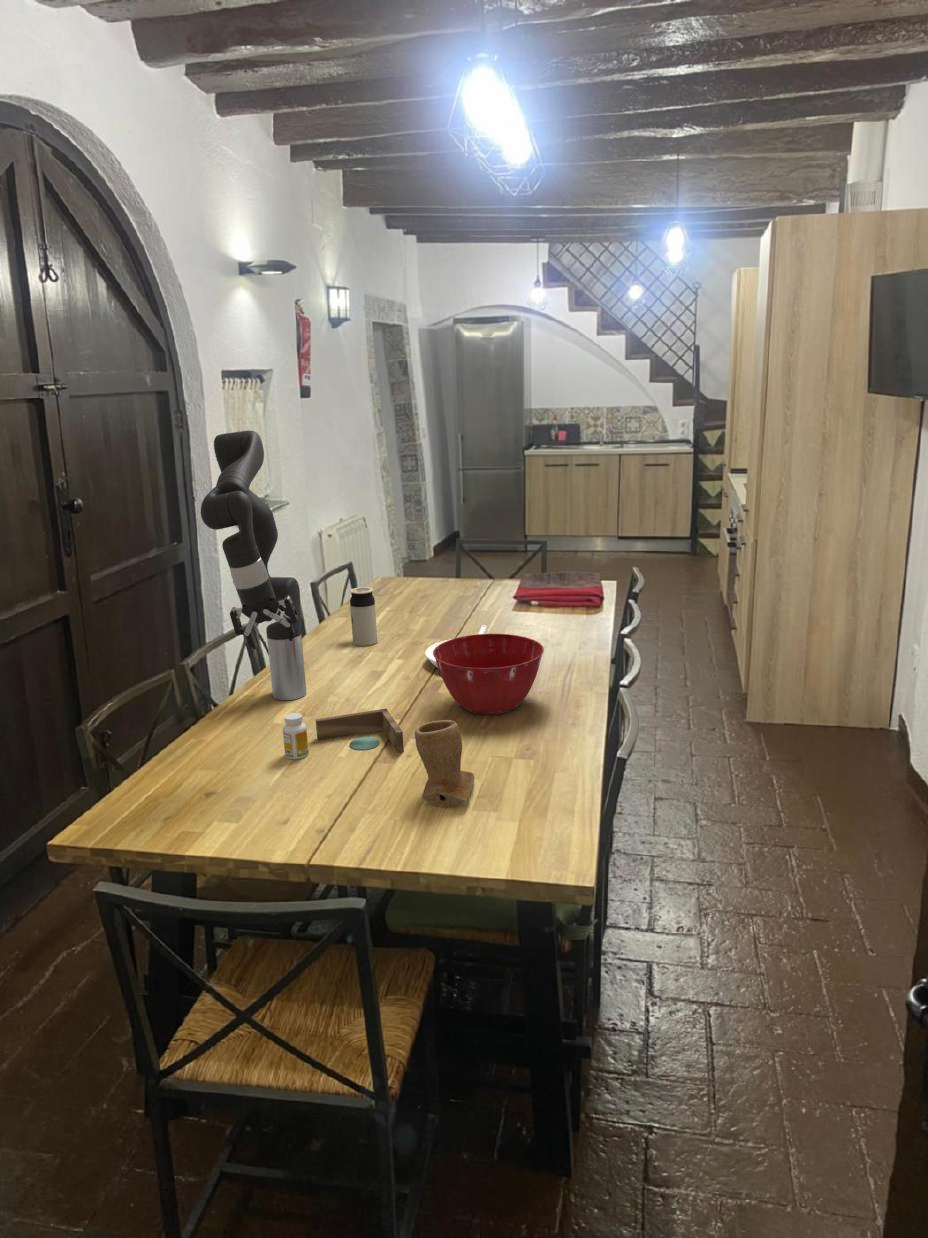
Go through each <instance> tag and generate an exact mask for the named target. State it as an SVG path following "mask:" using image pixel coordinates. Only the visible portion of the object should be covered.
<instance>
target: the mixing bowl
mask: <svg viewBox="0 0 928 1238" xmlns="http://www.w3.org/2000/svg"><path fill="white" fill-rule="evenodd" d="M450 639H451V640H450ZM450 639H447V640H448V641H446V642H443V643H441V644H440V645H438V646H437V647H436V648H435V649H434V651H433V656H434V657H435V659H436V662H437V666H438V668H437V669H438V672H439V674H440V676H441V679H442V681H443V683H444V685H445V687H446V688H447V690H448V692H449V694H450V696H451V697H452V699H453V700H454V701H455V702H456V703H457V704H458V705H459V706H460V707H462V708H463V709H465V710H467V711H469V712H470V713H474V714H478V715H500V714H503V713H504V714H505V713H508V712H510V711H512V710H513V709H515V708H516V707H518V706H519V705H520V704H521V703H522V702H524V700H525V699H526V698H527V696H528V694H529V692H530V691H531V689H532V687H533V684H534V683H535V680H536V677H537V675H538V671H539V667H540V664H541V661H542V657H543V655H544V652H545V649H544V646H543V645H542V644H541V643H540V642H539V641H537V640H535V639H532V638H529V637H526V636H521V635H517V634H508V633H484V634H477V633H476V634H470V635H463V636H459V637H456V638H450Z"/></svg>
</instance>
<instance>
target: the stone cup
mask: <svg viewBox="0 0 928 1238" xmlns="http://www.w3.org/2000/svg"><path fill="white" fill-rule="evenodd" d="M414 740H415V746H416V750H417V752H418V754H419V757H420V759H421V761H422V763H423V766H424V768H425V770H426V774H427V778H428V779H427V781H426V783H425V785H424V789H423V792H422V795H421V799H422V800H423V801H426V802H427V803H429V804H431V805H434V806H437V807H440V808H456V807H460V806H464V805H465V804H466V803H467V802H468V799H469V797H470V794H471V792H472V790H473V787H474V784H475V783H474V782H475V774H474V773H473V772H471V771H464V770H461V767H462V765H461V764H462V763H461V762H462V752H463V742H462V741H463V740H462V734H461V730H460V727H459V725H458V723H457V722H456V721H454V720H449V719H443V720H434V721H430V722H426V723H422V724H420V725H419V726H417V728H415V730H414Z"/></svg>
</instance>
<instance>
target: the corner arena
mask: <svg viewBox="0 0 928 1238" xmlns="http://www.w3.org/2000/svg"><path fill="white" fill-rule="evenodd" d="M315 728H316V739H317V741H318V742H319V741H325V740H326V741H327V740H331V739H339V738H344V737H345V738H346V737H351V736H356V735H355V734H358V735H362V734H369V733H370V734H371V733H377V732H381V731H382V730H383V733H384V734H385V736H386V735H387V736H386V738H387V739H388V741H389V742H390V744H391V745H392V746H393V748H394V749H396V750H395V751H396V752H397V754H398V753H404V752H405V748H404V734H403V733H404V731H403V730H402V729H401V727H400V726H399V725H398V723H397V721H396V720H395V719H394V718H393V716H392V714H391V713H390V711H389V710H388V709H387V708H382V709H373V710H367V711H362V712H354V713H347V714H341V715H340V714H339V715H336V716H334V715H333V716H328V717H322V718H321V717H320V718H315ZM376 731H377V732H376ZM350 735H351V736H350ZM379 745H380V740H379V739H378V738H375V737H370V736H363V737H358V738H355V739H352V740H351V742H349V747H350V748H351V749H352V750H356V749H357V751H368V750H367V749H369V750H372V749H374V748H377V747H378V746H379Z"/></svg>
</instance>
